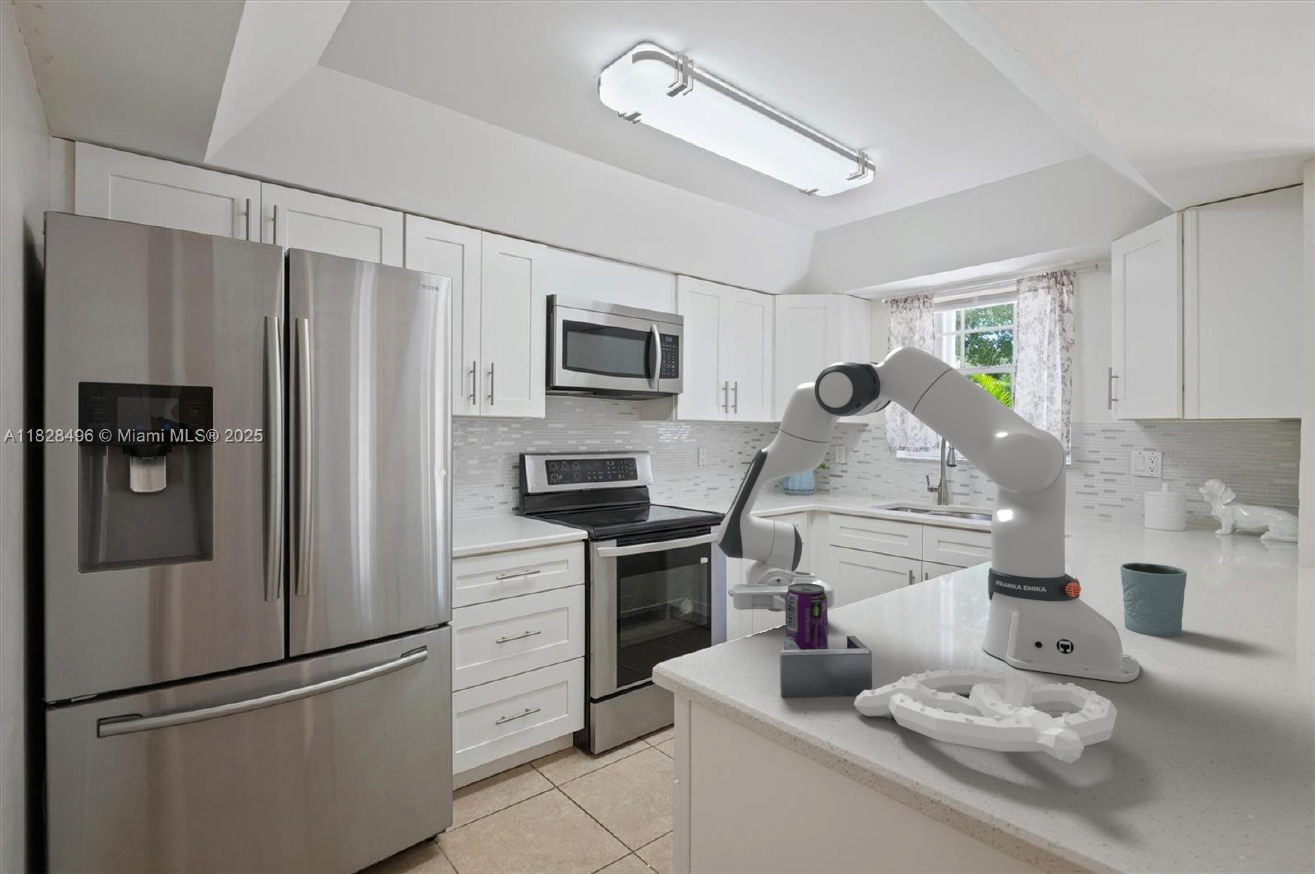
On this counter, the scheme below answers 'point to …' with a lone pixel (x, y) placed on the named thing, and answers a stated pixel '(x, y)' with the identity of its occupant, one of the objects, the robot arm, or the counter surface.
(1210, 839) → the counter surface
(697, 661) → the counter surface
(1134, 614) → the teal embossed flower pot
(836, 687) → the grey u-shaped holder
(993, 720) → the pretzel
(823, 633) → the beverage can
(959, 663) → the counter surface
